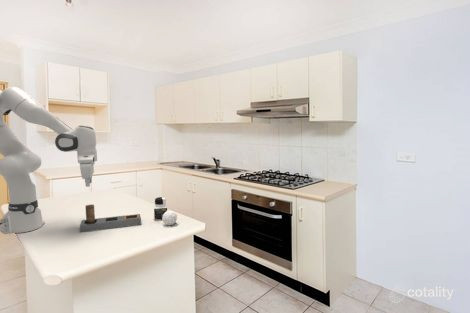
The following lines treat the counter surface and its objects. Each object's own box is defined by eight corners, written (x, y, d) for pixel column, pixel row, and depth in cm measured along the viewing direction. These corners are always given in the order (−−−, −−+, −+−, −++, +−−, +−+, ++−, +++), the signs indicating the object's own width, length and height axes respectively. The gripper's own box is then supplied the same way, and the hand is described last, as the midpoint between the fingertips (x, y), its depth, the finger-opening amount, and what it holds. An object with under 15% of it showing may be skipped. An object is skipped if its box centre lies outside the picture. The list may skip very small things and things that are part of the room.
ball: (169, 228, 156) (172, 214, 160) (178, 226, 151) (181, 211, 155) (157, 224, 152) (161, 209, 156) (166, 221, 147) (169, 207, 151)
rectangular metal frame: (80, 232, 142) (79, 224, 142) (82, 226, 151) (81, 219, 150) (141, 224, 153) (140, 218, 153) (140, 220, 161) (139, 213, 161)
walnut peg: (84, 228, 148) (83, 205, 146) (92, 226, 151) (90, 204, 150) (89, 230, 146) (88, 206, 144) (96, 227, 149) (95, 205, 148)
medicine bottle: (154, 220, 160) (153, 199, 159) (154, 216, 167) (153, 196, 166) (167, 219, 162) (166, 198, 161) (166, 215, 169) (166, 196, 168)
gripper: (82, 156, 153) (84, 181, 155) (77, 160, 134) (79, 189, 136) (95, 155, 156) (97, 180, 157) (92, 159, 137) (93, 188, 138)
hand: (88, 184), depth 146 cm, fingers open, 8 cm apart
